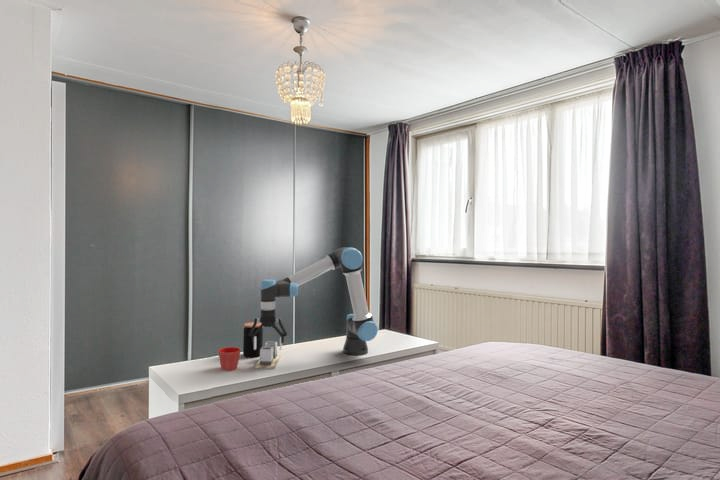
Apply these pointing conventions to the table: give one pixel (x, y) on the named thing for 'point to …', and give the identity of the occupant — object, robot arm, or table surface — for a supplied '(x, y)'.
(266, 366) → the pin board
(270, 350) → the sleeve
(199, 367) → the table surface
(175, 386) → the table surface
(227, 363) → the flower pot
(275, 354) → the sleeve
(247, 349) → the coffee jar
